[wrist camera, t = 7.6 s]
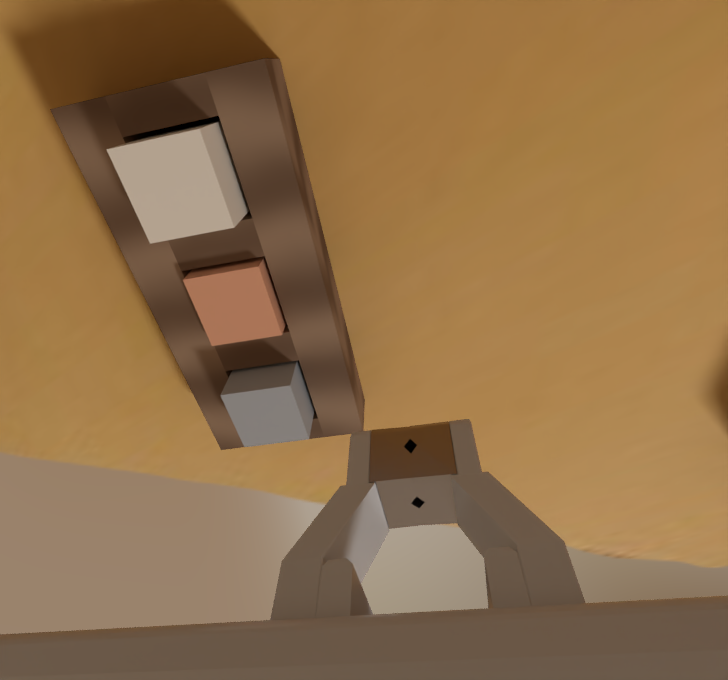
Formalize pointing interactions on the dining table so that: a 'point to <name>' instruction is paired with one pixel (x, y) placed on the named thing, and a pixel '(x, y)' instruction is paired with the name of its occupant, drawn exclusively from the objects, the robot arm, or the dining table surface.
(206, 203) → the cream key
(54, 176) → the dining table surface
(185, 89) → the key panel
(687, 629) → the robot arm
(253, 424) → the slate key
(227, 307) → the terracotta key
